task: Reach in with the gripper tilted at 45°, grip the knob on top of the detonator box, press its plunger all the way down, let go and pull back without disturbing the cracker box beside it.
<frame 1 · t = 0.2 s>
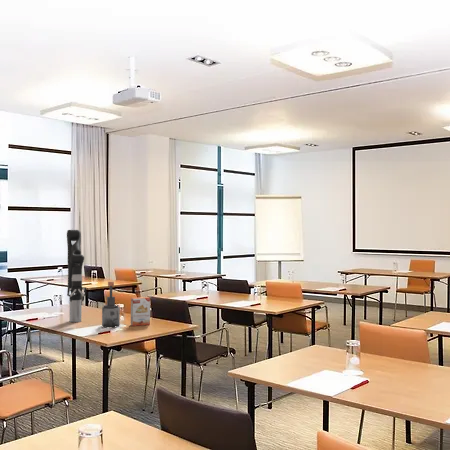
hand: (76, 301, 410), 18 cm above the table, tool pointing down, fingers open, 8 cm apart
cracker box: (140, 325, 406), on the table
detonator box: (110, 325, 402), on the table
plunger: (110, 289, 402), point 27 cm above the table, slide at 0.0 cm
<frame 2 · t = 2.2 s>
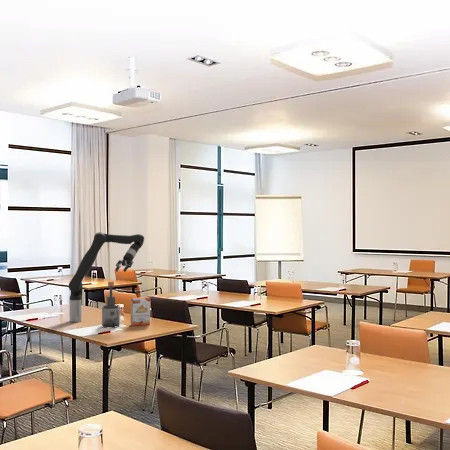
hand: (120, 271, 411), 41 cm above the table, tool tilted 45°, fingers open, 8 cm apart
nothing on the table moved.
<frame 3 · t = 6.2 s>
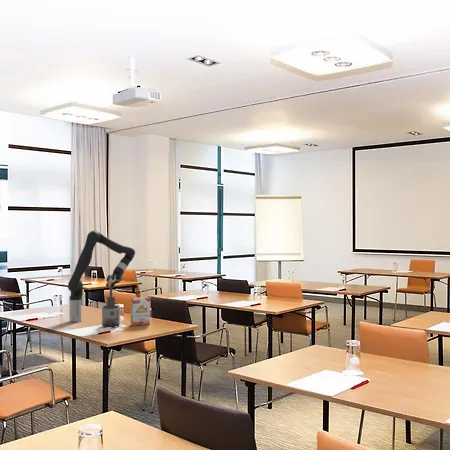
hand: (109, 286, 401), 30 cm above the table, tool tilted 45°, fingers closed on plunger, 4 cm apart
plunger: (110, 289, 402), point 27 cm above the table, slide at 0.0 cm, touching gripper
everything else where it was.
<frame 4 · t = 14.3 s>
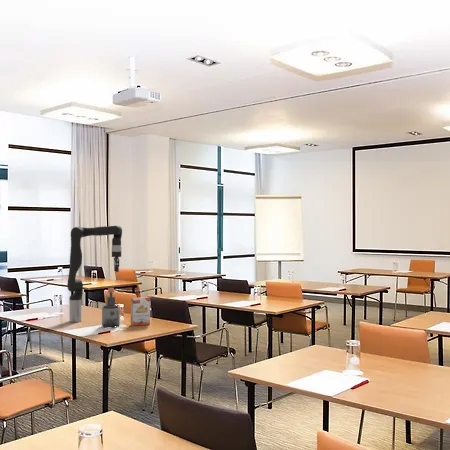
hand: (116, 271, 417), 40 cm above the table, tool pointing down, fingers open, 8 cm apart
plunger: (110, 296, 402), point 22 cm above the table, slide at 5.0 cm
everything else where it was.
at the end: plunger slide at 5.0 cm; the gripper is holding nothing; cracker box moved 0.2 cm from its start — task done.
